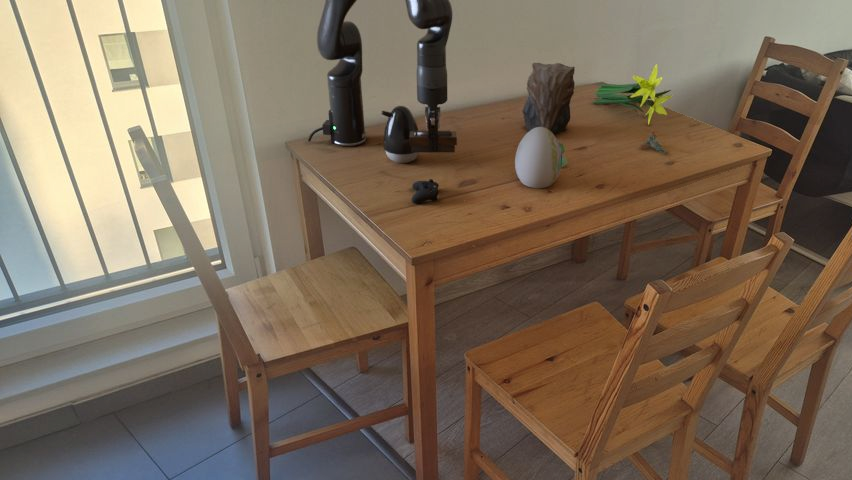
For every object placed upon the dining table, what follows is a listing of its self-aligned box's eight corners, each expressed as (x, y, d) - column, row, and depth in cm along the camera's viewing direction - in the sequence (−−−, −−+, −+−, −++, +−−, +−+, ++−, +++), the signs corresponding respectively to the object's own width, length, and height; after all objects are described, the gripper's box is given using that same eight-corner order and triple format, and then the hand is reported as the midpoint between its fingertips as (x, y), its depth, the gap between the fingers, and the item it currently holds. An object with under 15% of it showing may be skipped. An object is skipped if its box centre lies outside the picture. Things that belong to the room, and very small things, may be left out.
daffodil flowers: (622, 99, 245) (695, 101, 216) (597, 127, 242) (667, 132, 213) (601, 61, 236) (674, 57, 208) (574, 89, 233) (644, 88, 204)
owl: (519, 126, 215) (523, 62, 204) (551, 120, 221) (556, 57, 211) (544, 139, 206) (549, 73, 196) (576, 132, 213) (582, 67, 202)
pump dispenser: (379, 155, 191) (376, 102, 183) (414, 150, 195) (413, 98, 187) (389, 168, 183) (386, 114, 175) (425, 164, 187) (424, 110, 179)
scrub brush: (456, 146, 179) (456, 127, 176) (456, 152, 175) (456, 133, 172) (410, 146, 177) (409, 127, 175) (409, 152, 174) (409, 133, 171)
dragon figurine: (676, 145, 203) (655, 130, 205) (673, 144, 196) (651, 128, 198) (662, 163, 205) (642, 148, 207) (658, 162, 198) (637, 146, 200)
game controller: (410, 184, 173) (427, 169, 171) (425, 198, 175) (442, 183, 174) (409, 201, 165) (426, 185, 163) (425, 215, 167) (442, 199, 165)
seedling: (552, 177, 195) (557, 174, 188) (532, 158, 194) (536, 154, 188) (569, 159, 195) (574, 155, 189) (549, 139, 195) (553, 135, 188)
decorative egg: (567, 189, 176) (572, 134, 168) (522, 193, 173) (525, 137, 165) (550, 171, 186) (555, 118, 178) (508, 174, 183) (510, 121, 175)
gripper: (417, 73, 172) (419, 138, 181) (416, 90, 160) (418, 158, 169) (446, 74, 173) (447, 138, 182) (448, 91, 161) (448, 158, 170)
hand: (433, 147), depth 176 cm, fingers closed on scrub brush, 4 cm apart
